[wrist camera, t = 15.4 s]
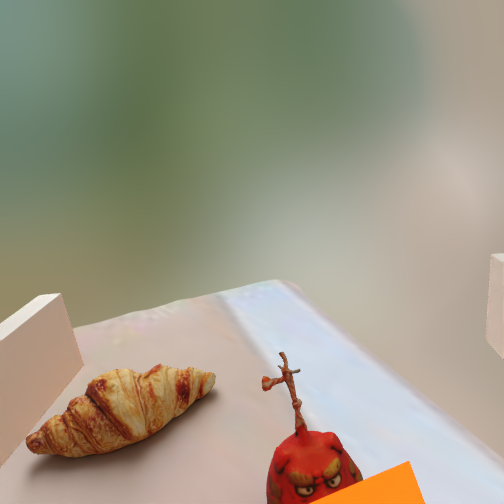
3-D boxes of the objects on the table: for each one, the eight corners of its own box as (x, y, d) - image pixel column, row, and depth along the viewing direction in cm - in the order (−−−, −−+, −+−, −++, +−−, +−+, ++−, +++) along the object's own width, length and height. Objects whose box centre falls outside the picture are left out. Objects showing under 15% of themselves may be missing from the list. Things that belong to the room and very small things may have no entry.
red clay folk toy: (292, 599, 27) (262, 423, 22) (260, 509, 33) (232, 359, 28) (388, 554, 29) (380, 383, 24) (340, 477, 35) (326, 330, 30)
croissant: (213, 397, 53) (196, 340, 54) (234, 406, 44) (213, 337, 45) (42, 468, 45) (26, 399, 46) (23, 497, 36) (4, 410, 37)
